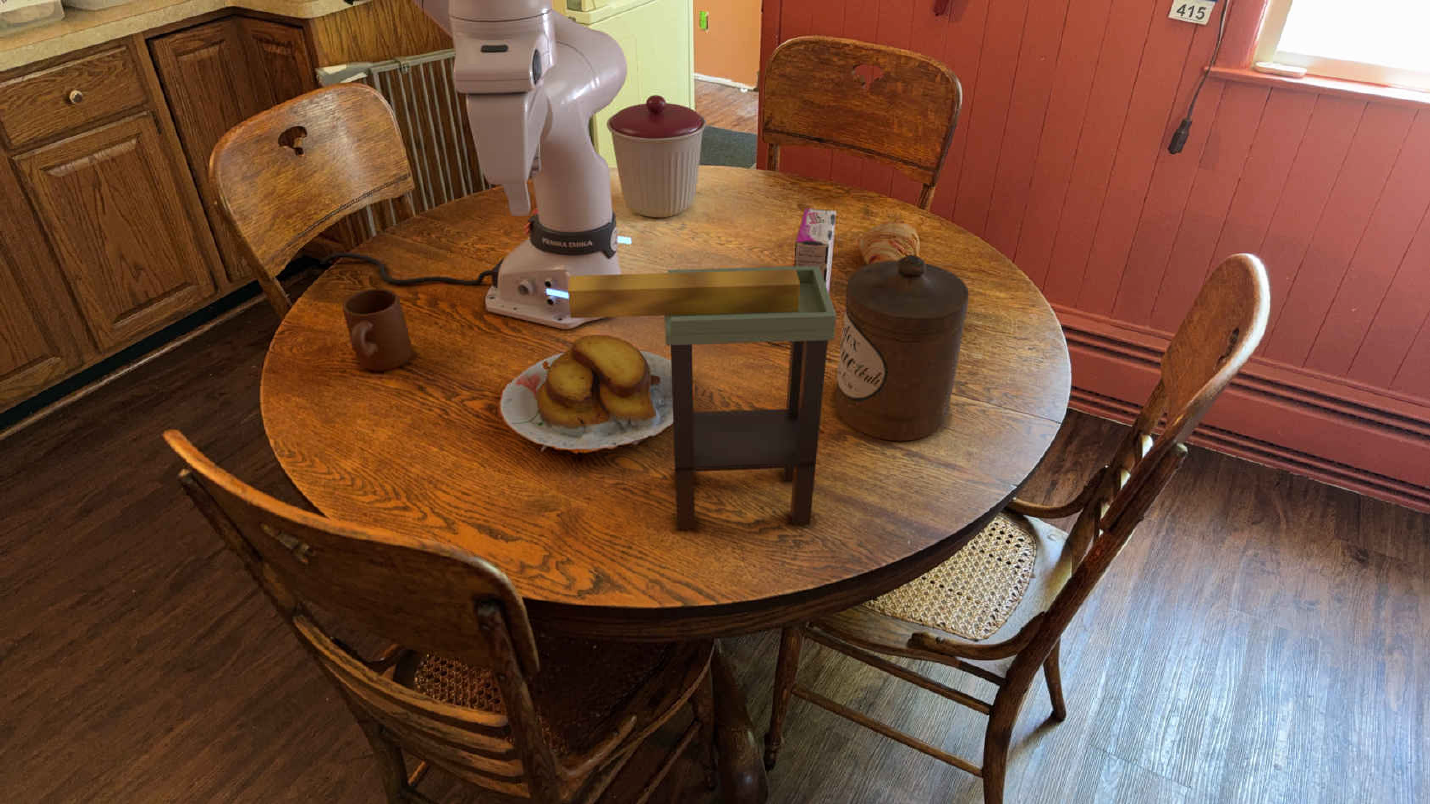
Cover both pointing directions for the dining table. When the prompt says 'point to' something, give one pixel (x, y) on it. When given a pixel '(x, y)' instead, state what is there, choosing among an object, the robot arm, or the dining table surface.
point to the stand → (753, 432)
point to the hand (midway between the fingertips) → (527, 192)
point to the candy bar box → (816, 241)
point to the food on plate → (591, 397)
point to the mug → (377, 329)
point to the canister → (657, 155)
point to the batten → (683, 293)
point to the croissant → (889, 242)
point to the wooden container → (899, 348)
